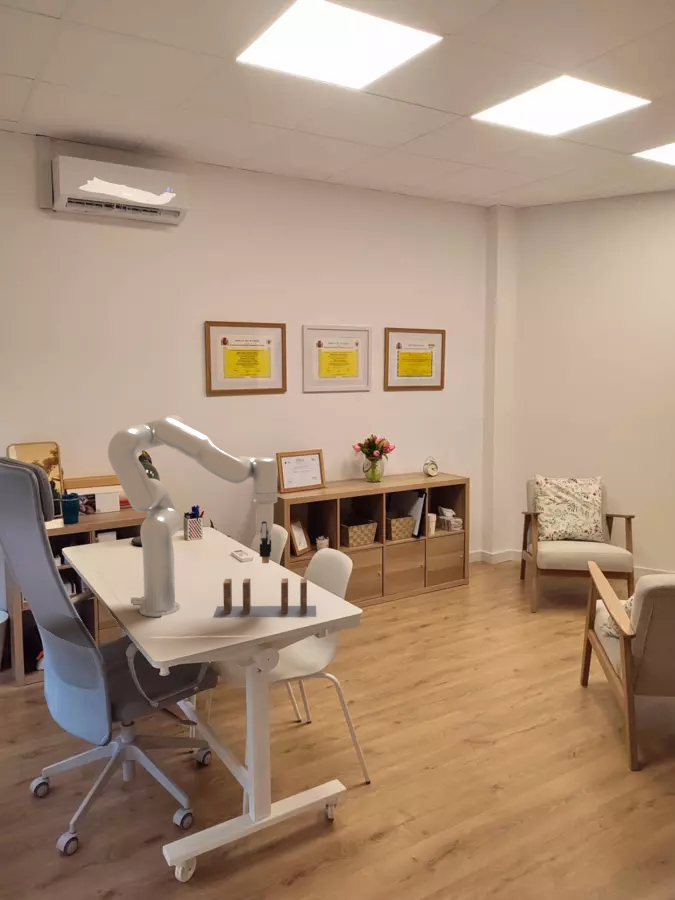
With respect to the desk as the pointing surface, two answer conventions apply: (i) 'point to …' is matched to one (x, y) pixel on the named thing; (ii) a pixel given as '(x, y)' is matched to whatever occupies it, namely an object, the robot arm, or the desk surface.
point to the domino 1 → (227, 595)
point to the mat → (265, 611)
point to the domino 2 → (246, 596)
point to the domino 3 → (265, 559)
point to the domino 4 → (284, 596)
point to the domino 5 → (303, 596)
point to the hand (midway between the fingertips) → (265, 553)
